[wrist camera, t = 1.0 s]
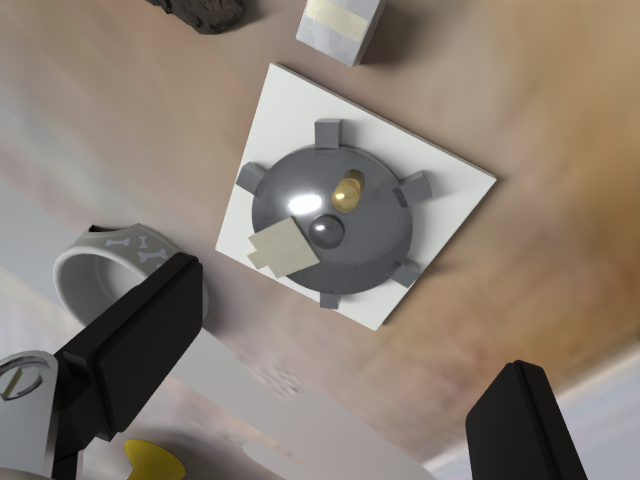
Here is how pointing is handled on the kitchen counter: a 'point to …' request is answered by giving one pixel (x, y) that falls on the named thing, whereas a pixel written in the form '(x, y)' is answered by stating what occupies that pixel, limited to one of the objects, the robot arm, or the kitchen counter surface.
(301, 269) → the sprocket
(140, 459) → the cake stand
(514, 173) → the kitchen counter surface
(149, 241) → the dog bowl
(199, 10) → the wood
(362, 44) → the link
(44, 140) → the kitchen counter surface
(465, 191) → the base plate
